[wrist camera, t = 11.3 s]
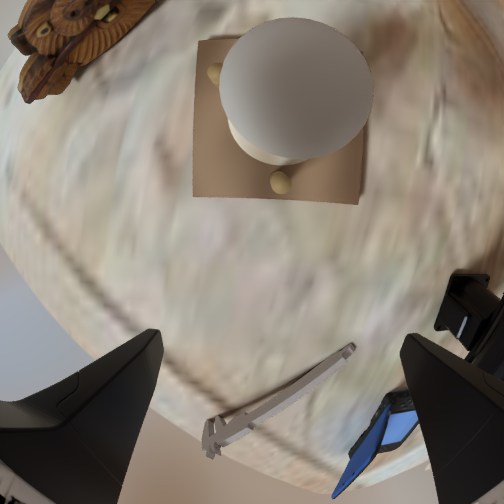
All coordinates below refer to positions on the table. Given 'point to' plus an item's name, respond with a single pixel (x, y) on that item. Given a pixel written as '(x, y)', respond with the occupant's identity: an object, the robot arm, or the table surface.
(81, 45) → the wooden carving
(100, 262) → the table surface
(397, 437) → the handheld game console
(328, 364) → the caliper
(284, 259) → the table surface
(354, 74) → the lightbulb
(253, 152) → the pin holder
